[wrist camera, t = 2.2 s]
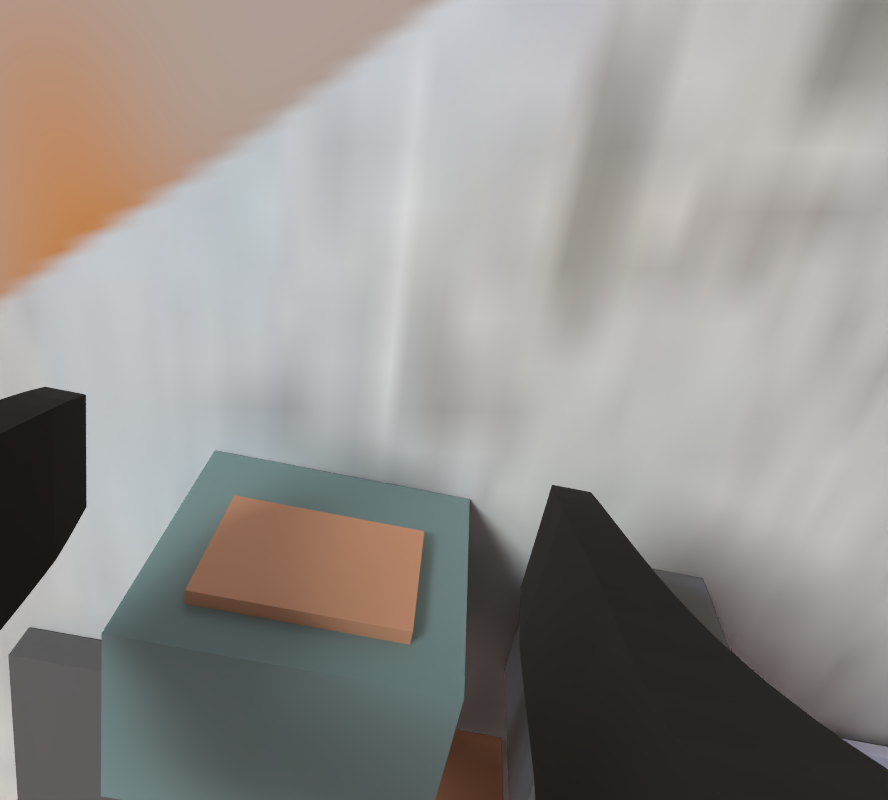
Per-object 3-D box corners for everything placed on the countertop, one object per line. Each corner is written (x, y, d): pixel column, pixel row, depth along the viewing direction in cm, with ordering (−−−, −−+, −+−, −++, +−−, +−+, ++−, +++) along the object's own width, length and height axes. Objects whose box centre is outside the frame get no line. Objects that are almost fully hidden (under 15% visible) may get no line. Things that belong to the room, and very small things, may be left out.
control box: (472, 488, 18) (467, 685, 13) (432, 645, 20) (414, 870, 15) (215, 439, 18) (102, 619, 13) (202, 603, 20) (100, 817, 15)
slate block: (701, 577, 19) (768, 748, 15) (651, 694, 21) (697, 879, 16) (542, 546, 19) (560, 711, 15) (504, 667, 21) (510, 847, 16)
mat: (254, 668, 21) (243, 697, 20) (236, 813, 24) (227, 844, 23) (29, 627, 21) (8, 655, 20) (36, 779, 23) (18, 809, 22)
